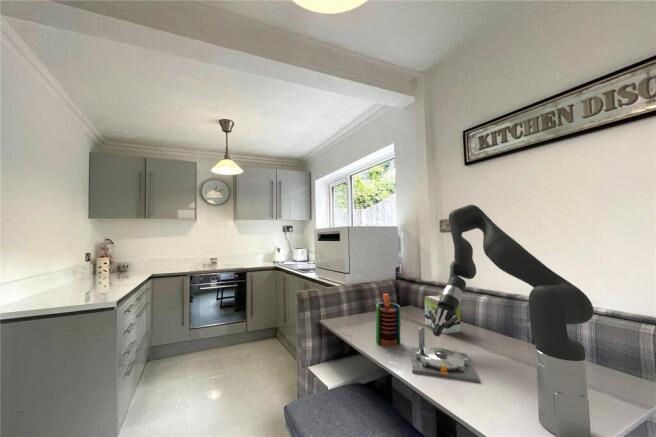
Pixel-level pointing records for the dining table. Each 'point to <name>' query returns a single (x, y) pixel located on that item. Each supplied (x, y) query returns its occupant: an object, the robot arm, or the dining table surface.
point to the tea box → (431, 304)
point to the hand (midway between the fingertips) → (435, 335)
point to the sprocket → (439, 356)
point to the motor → (387, 323)
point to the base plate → (466, 374)
